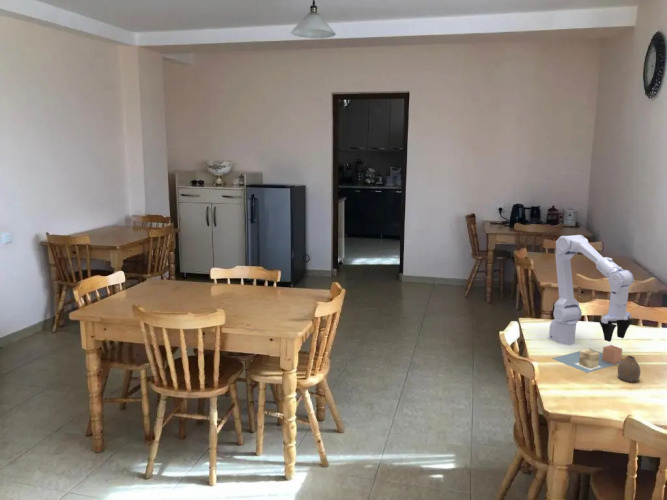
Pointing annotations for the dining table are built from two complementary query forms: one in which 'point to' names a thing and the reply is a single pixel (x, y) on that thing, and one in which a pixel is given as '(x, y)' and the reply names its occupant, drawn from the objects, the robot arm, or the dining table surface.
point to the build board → (573, 361)
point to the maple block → (589, 358)
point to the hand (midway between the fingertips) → (614, 339)
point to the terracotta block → (612, 354)
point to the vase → (629, 369)
